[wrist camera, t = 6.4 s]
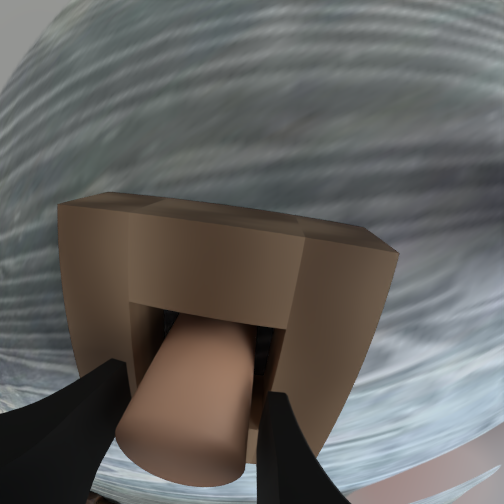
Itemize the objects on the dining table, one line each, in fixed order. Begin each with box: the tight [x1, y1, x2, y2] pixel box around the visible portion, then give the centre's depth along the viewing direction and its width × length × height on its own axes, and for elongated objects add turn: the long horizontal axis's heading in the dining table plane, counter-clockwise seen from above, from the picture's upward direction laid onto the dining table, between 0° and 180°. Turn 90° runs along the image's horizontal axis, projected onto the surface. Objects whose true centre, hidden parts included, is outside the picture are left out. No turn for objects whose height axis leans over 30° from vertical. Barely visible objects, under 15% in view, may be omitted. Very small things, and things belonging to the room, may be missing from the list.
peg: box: [115, 312, 257, 487], centre depth 11 cm, size 4×4×8 cm
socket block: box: [58, 192, 399, 464], centre depth 12 cm, size 12×12×4 cm
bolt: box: [86, 492, 115, 504], centre depth 23 cm, size 6×5×15 cm
